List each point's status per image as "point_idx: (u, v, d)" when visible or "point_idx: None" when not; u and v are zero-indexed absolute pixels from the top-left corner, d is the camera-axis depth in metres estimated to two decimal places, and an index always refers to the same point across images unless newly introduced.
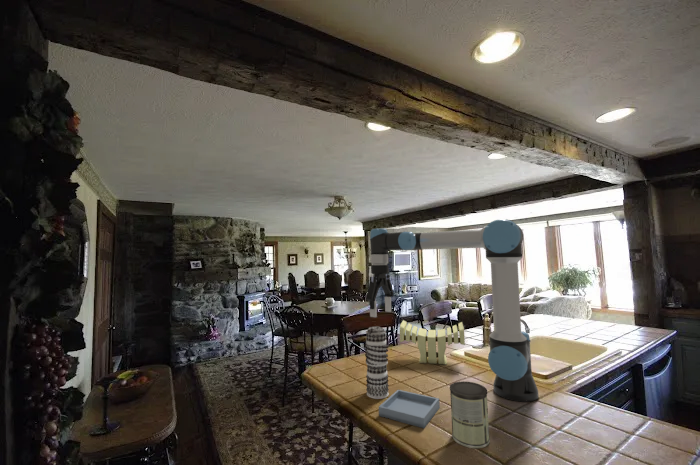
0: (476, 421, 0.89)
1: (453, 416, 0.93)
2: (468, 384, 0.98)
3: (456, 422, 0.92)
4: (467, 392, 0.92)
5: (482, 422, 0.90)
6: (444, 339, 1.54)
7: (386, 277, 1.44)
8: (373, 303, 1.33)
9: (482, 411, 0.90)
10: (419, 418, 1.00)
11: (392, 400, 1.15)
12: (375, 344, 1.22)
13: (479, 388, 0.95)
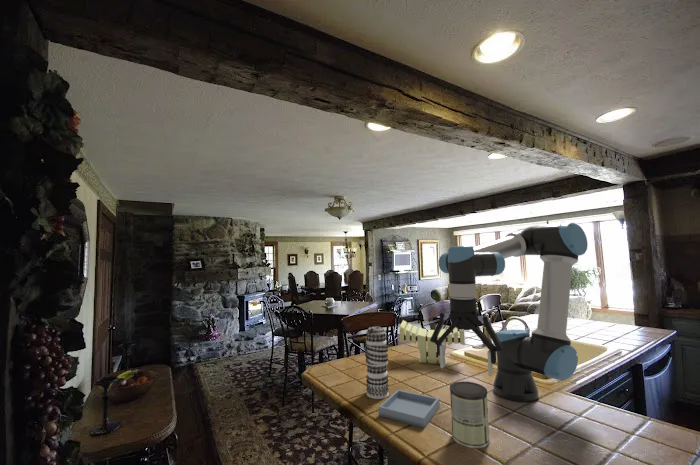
0: (476, 421, 0.89)
1: (453, 416, 0.93)
2: (468, 384, 0.98)
3: (456, 422, 0.92)
4: (467, 392, 0.92)
5: (482, 422, 0.90)
6: None
7: (481, 319, 0.93)
8: (438, 347, 1.00)
9: (482, 411, 0.90)
10: (419, 418, 1.00)
11: (392, 400, 1.15)
12: (375, 344, 1.22)
13: (479, 388, 0.95)
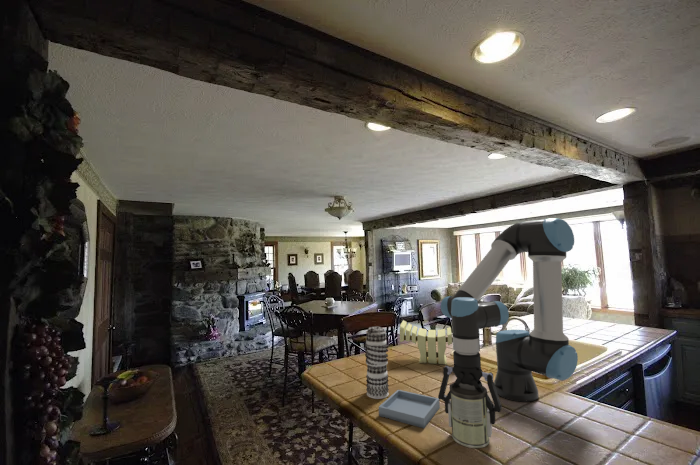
0: (475, 421, 0.89)
1: (453, 416, 0.93)
2: None
3: (456, 421, 0.92)
4: (467, 392, 0.92)
5: (482, 422, 0.90)
6: (444, 339, 1.54)
7: (485, 377, 0.92)
8: (446, 405, 0.97)
9: (482, 411, 0.90)
10: (419, 418, 1.00)
11: (392, 400, 1.15)
12: (375, 344, 1.22)
13: None
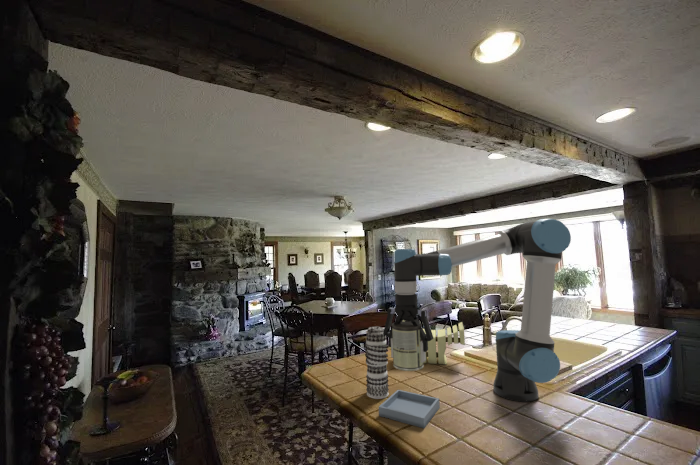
0: (410, 348, 1.06)
1: (393, 347, 1.10)
2: (408, 322, 1.15)
3: (395, 351, 1.09)
4: (404, 326, 1.10)
5: (416, 349, 1.07)
6: (444, 339, 1.54)
7: (420, 313, 1.09)
8: (390, 340, 1.14)
9: (416, 341, 1.07)
10: (419, 418, 1.00)
11: (392, 400, 1.15)
12: (375, 344, 1.22)
13: None
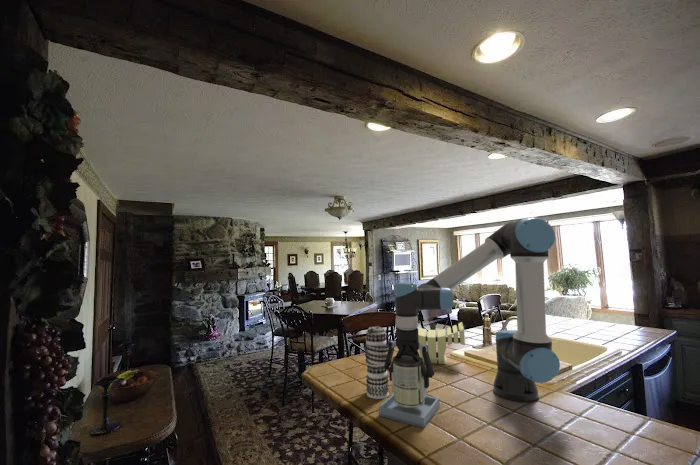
0: (411, 385, 1.06)
1: (394, 382, 1.10)
2: (409, 356, 1.14)
3: (396, 386, 1.08)
4: (405, 361, 1.09)
5: (417, 386, 1.06)
6: (444, 339, 1.54)
7: (421, 348, 1.09)
8: (390, 374, 1.14)
9: (417, 377, 1.06)
10: (419, 418, 1.00)
11: (392, 400, 1.15)
12: (375, 344, 1.22)
13: None
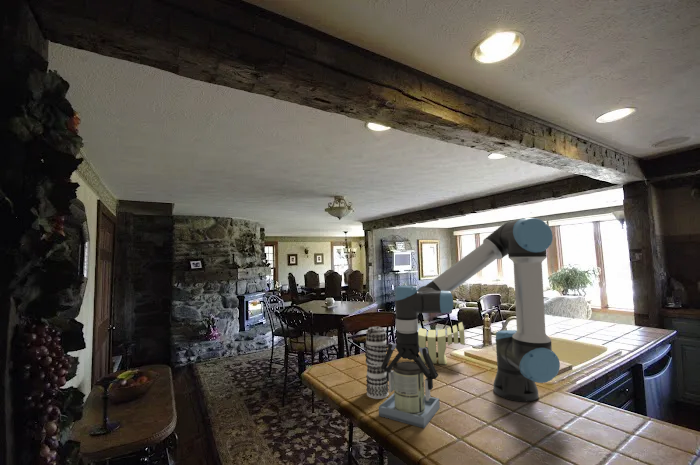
0: (411, 393, 1.06)
1: (394, 390, 1.10)
2: (410, 363, 1.14)
3: (397, 394, 1.08)
4: (406, 369, 1.09)
5: (417, 394, 1.06)
6: (444, 339, 1.54)
7: (421, 351, 1.09)
8: (387, 374, 1.14)
9: (417, 385, 1.06)
10: (419, 418, 1.00)
11: (392, 400, 1.15)
12: (375, 344, 1.22)
13: (417, 366, 1.11)
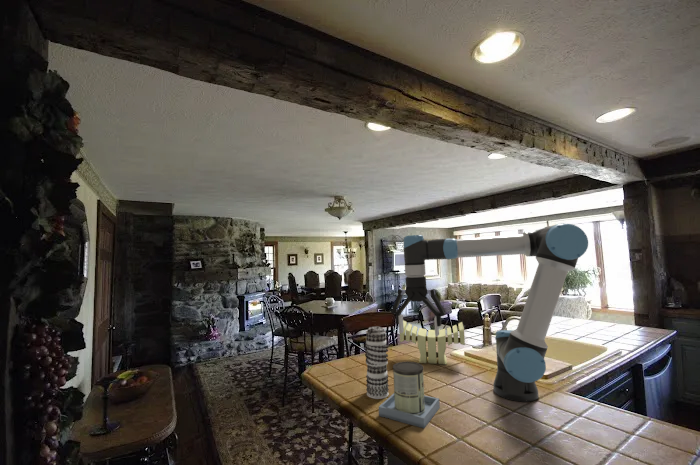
0: (411, 393, 1.06)
1: (394, 390, 1.10)
2: (409, 363, 1.14)
3: (397, 394, 1.08)
4: (406, 369, 1.09)
5: (417, 394, 1.06)
6: (444, 339, 1.54)
7: (429, 292, 1.19)
8: (397, 317, 1.24)
9: (417, 385, 1.06)
10: (419, 418, 1.00)
11: (392, 400, 1.15)
12: (375, 344, 1.22)
13: (417, 366, 1.11)
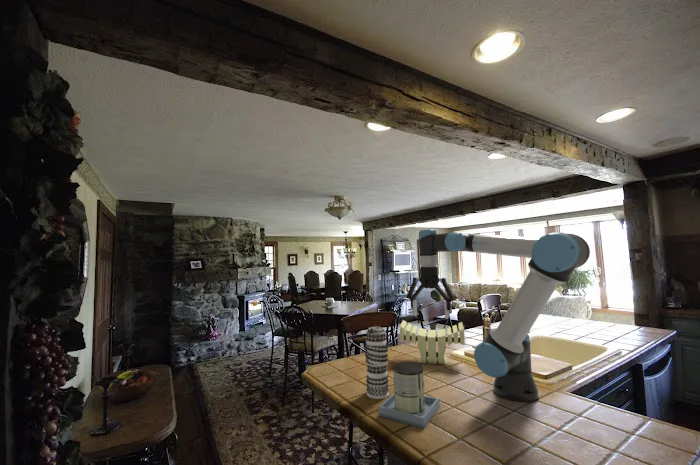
0: (411, 393, 1.06)
1: (394, 390, 1.10)
2: (410, 363, 1.14)
3: (397, 394, 1.08)
4: (406, 369, 1.09)
5: (417, 394, 1.06)
6: (444, 339, 1.54)
7: (441, 280, 1.34)
8: (412, 302, 1.40)
9: (417, 385, 1.06)
10: (419, 418, 1.00)
11: (392, 400, 1.15)
12: (375, 344, 1.22)
13: (417, 366, 1.11)
